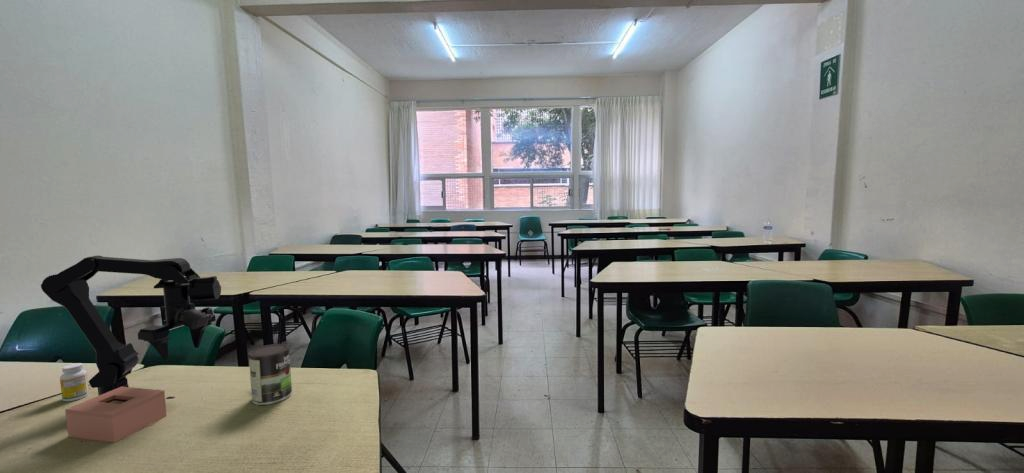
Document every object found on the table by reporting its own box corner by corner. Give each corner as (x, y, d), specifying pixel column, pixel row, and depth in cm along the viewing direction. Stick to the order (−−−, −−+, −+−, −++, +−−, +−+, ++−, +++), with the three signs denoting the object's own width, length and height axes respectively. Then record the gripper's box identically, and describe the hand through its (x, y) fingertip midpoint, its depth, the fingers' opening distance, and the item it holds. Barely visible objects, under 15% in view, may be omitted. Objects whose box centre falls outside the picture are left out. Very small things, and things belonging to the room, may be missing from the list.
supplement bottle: (82, 399, 116) (79, 367, 115) (57, 403, 114) (53, 370, 113) (93, 391, 121) (89, 360, 120) (69, 395, 119) (65, 363, 118)
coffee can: (299, 388, 122) (297, 343, 121) (278, 405, 112) (275, 356, 110) (266, 388, 122) (263, 343, 121) (242, 405, 112) (239, 356, 111)
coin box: (68, 436, 98) (65, 409, 97) (124, 411, 109) (121, 386, 109) (114, 442, 95) (111, 414, 94) (166, 415, 107) (164, 390, 106)
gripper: (167, 311, 107) (172, 368, 108) (228, 295, 125) (232, 343, 127) (133, 309, 109) (139, 365, 110) (198, 293, 127) (202, 341, 129)
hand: (181, 353), depth 119 cm, fingers open, 9 cm apart
